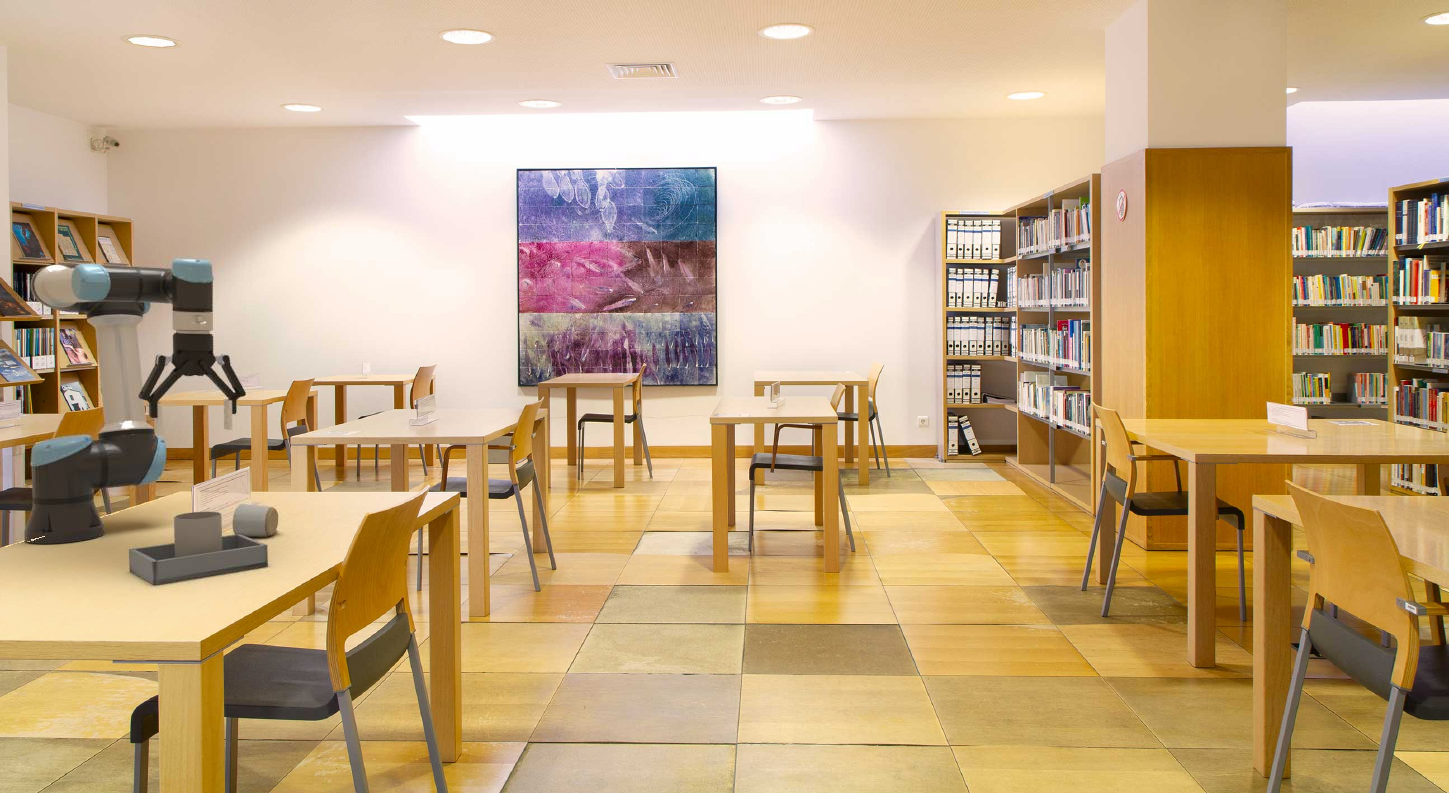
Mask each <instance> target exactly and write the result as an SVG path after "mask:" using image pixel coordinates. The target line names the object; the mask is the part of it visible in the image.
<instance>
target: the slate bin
mask: <svg viewBox="0 0 1449 793" xmlns="http://www.w3.org/2000/svg"><path fill="white" fill-rule="evenodd" d="M268 551H269V550H268V544H266V543H264V542H261V541H258V540H255V539H253V538H252V537H246V536H243V535H241V534H229V535H222V551H218V552H212V553H205V554H198V555H192V556H185V557H178V558H175V542H172V543H165V544H164V543H163V544H157V545H156V544H155V545H151V546H143V547H136V548H135V547H134V548H129V549H128V557H129V559H128V560H129V561H128V562H129V563H128V564H129V572H130V573H132V574H133V575H135V576H138V577H139V578H141V579H142V580H144V581H145V582H147V583H149V584H151V585H153V586H160V585H165V584H171V583H178V582H183V581H189V580H194V579H200V578H201V579H202V578H206V577H214V576H218V575H224V574H230V573H237V572H244V571H249V570H256V569H259V568H260V569H261V568H266V567H268V565H269V563H268V562H269V559H268V558H269V555H268Z"/></svg>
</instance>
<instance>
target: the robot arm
mask: <svg viewBox="0 0 1449 793" xmlns="http://www.w3.org/2000/svg"><path fill="white" fill-rule="evenodd" d="M171 263H172V264H171V268H167V267H165V268H162V267H144V266H127V265H119V264H117V265H114V264H113V265H111V264H99V263H81V264H80V263H79V264H78V263H72V262H71V263H70V262H69V263H67V262H66V263H56V264H52V265H51V264H50V265H47V266H44V267H41V268H40V269H38V270H36V272H35V273H34V274H33V275H32V278H31V280H30V291H31V294H32V295H33V297H34V298H35V299H36V300H37V301H38V302H39V303H40V304H41V305H44V307H47V308H49V309H52V310H56V311H59V312H64V313H65V312H66V313H75V314H76V313H78V314H79V313H80V314H81V313H83V314H86V321H87V322H86V323H88V324H90V326H92V327H94V329H95V340H96V348H97V357H98V358H97V360H98V367H99V368H98V369H99V378H100V387H101V389H100V390H101V398H102V411H103V419H104V420H103V421H104V426H103V427H102V428H101V429H100V430H99V431H98V433H97V438H98V439H94V438H93V436H92V435H90V434H75V435H65V436H58V437H53V438H48V439H45V440H41V441H39V442H37V443H35V444H34V445H33V447H31V455H30V463H29V464H30V467H31V488H32V492H31V493H32V509H31V512H30V514H29V518H28V520H27V522H26V525H25V527H24V528H25V529H24V534H23V536H24V542H26V541H30V542H29V544H38V545H41V544H45V545H47V544H49V545H51V544H52V545H53V544H65V543H75V542H81V541H86V540H87V541H88V540H91V539H95V538H98V537H101V536H103V535H104V534H105V531H104V530H105V529H104V526H105V525H104V523H103V520H102V518H101V516H100V514H99V510H98V509H97V506H96V504H95V498H94V496H95V495H94V494H95V493H94V491H95V490H99V489H100V490H101V489H103V490H104V489H111V488H120V487H121V488H124V487H130V486H133V487H138V486H140V485H147V484H152V483H155V482H157V481H158V480H159V479H160V478H161V477H162V475H163V472H164V470H165V467H166V462H167V445H166V443H165V439H164V437H162V436H160V435H164V430H163V429H164V427H163V426H164V423H163V418H164V417H163V402H160V399H162V398H163V397H164V395H165V394H166V393H167V392H168V391H169V390H170V389H171V387H173V385H174V384H175V383H176V382H177V381H178V380H179V379H180V378H182V377H183V376H184V377H194V376H198V377H204V376H206V377H207V378H208V379H209V380H211V382H212V383H213V384H215V386H216V387H217V388H218V390H220V391H221V392H222V393H223V394H224V396H226V398H227V399H226V398H225V399H223V430H227V431H233V415H237V413H238V412H237V404H238V402H237V401H238V400H239V399H240V398H242V397H245V396H246V395H247V392H246V391H245V389H244V387H243V385H242V384H241V381H240V380H239V378H238V376H237V374H236V372H235V370H234V369H233V366H231V364H232V363H231V359H230V356H229V354H223V353H222V354H220V355H215V353H214V335H213V334H212V333H211V332H212V331H213V330H214V306H213V305H214V274H213V273H214V272H213V264H212V263H211V261H209V260H208V259H206V260H205V259H196V258H194V259H193V258H175V259H173V260H172V262H171ZM152 303H153V304H157V303H158V304H169V305H170V304H171V305H172V310H171V311H172V330H173V331H175V332H173V334H172V355H171V356H167V355H163V354H157V355H156V356H155V360H154V366H153V368H152V370H151V372H150V374H149V375H148V377H147V379H146V381H145V383H144V385H143V375H142V368H141V367H142V366H141V357H140V346H139V338H138V336H139V334H138V326H139V324H141V323H142V322H143V321H144V315H146V314H148V312H149V311H150V308H151V304H152ZM216 362H217V364H218V365H219V366H221V369H222V371H223V372H224V374H225V376H226V378H227V381H228V382H229V383H230V385H231V387H232V388H230V387H229V385H227V384H226V383H225V381H224V380H223V379H222V378H221V377H220V376H219V375H218V373H217V372H216V371H215V369H213V368H212V367H213V366H214V364H215V363H216ZM170 363H171V364H172V365H173V366H174V368H173V369H172V370H171V372H170V373H169V375H168V376H167V377H166V378H165V379H164V380H163V381H162V383H160V384H159V385H158V387H157V388H156V389H155V390H154V388H155V387H156V385H157V383H158V381H159V379H160V377H161V375H162V373H163V372H164V370H165V368H166V366H169V364H170ZM153 390H154V391H153ZM146 401H147V402H148V414H149V417H150V418H152V419H154V427H153V426H152V425H150V424H149V423H148V422H147V417H146V416H147V415H146V407H145V406H146V405H145V402H146ZM42 536H45V537H42ZM39 537H42V538H39ZM35 538H39V539H36V540H34V541H31V539H35ZM32 542H33V543H32ZM26 543H27V542H26Z"/></svg>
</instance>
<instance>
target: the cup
mask: <svg viewBox="0 0 1449 793" xmlns="http://www.w3.org/2000/svg"><path fill="white" fill-rule="evenodd" d="M222 524H223V523H222V513H221V512H219V511H192V512H185V513H181V514H177V515H175V516H174V517H173V528H174V529H173V532H174V538H173V539H174V543H175V558H178V557H185V556H192V555H198V554H205V553H212V552H218V551H222V536H223V535H222V534H223V531H222V530H223V528H222V527H223V526H222Z"/></svg>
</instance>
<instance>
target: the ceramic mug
mask: <svg viewBox="0 0 1449 793" xmlns="http://www.w3.org/2000/svg"><path fill="white" fill-rule="evenodd" d="M232 517H233V518H232V532H233V535H235V534H241V535H243V536H246V537H248V538H253V537H255V538H257V537H258V538H266V537H271V536H273V535H274V534H276V532H277V528H278V526H279V512H278V510H277V509H276V508H275V507H273V506H269V505H257V504H246V503H241V504H239V505H237V507H236V508H235V509H234V512H233V516H232Z"/></svg>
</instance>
